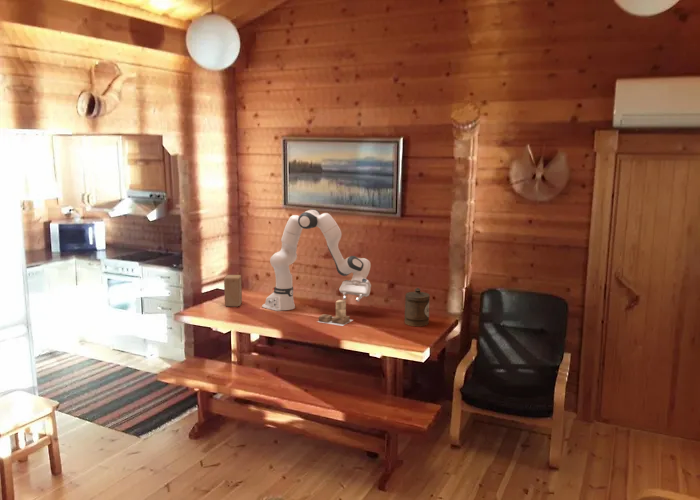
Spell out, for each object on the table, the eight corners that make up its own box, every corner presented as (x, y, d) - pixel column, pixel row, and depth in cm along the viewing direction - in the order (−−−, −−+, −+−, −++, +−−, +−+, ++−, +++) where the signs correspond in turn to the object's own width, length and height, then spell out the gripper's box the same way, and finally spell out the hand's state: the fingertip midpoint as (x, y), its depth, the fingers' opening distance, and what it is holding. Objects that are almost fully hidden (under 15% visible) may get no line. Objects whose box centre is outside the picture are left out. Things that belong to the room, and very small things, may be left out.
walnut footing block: (318, 321, 364) (318, 316, 363) (323, 318, 369) (323, 313, 369) (327, 322, 361) (327, 317, 361) (331, 320, 366) (331, 315, 366)
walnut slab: (331, 322, 361) (331, 317, 361) (338, 319, 368) (338, 314, 368) (343, 324, 358) (343, 319, 357) (349, 320, 365) (349, 316, 364)
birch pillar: (335, 317, 362) (335, 301, 360) (339, 315, 366) (339, 299, 364) (342, 318, 360) (342, 302, 358) (345, 316, 364) (345, 300, 362)
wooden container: (431, 326, 360) (432, 290, 356) (408, 327, 357) (408, 291, 354) (424, 319, 374) (425, 285, 370) (401, 320, 372) (402, 285, 368)
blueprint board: (316, 323, 363) (316, 321, 363) (328, 317, 375) (328, 315, 375) (342, 328, 355) (342, 325, 355) (353, 321, 367) (353, 319, 367)
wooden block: (239, 307, 398) (238, 277, 395) (224, 306, 399) (223, 277, 395) (242, 303, 408) (241, 274, 405) (227, 302, 408) (226, 274, 405)
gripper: (342, 277, 381) (334, 295, 375) (370, 280, 372) (363, 299, 365) (345, 282, 386) (337, 300, 379) (373, 286, 377) (366, 304, 370)
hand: (350, 300), depth 372 cm, fingers open, 8 cm apart
